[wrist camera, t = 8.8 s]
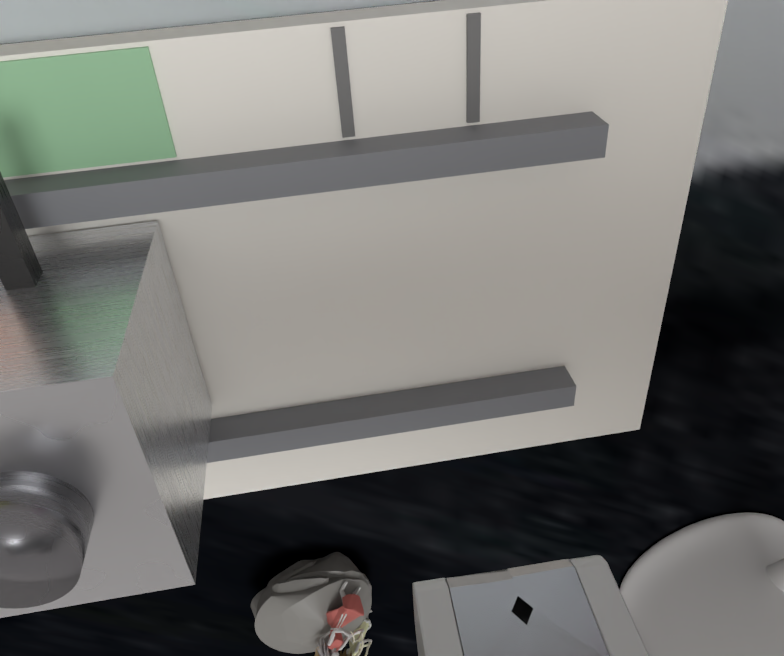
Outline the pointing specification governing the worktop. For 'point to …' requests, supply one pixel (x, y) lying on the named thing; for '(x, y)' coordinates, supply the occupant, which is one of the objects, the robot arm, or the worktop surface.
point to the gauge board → (387, 213)
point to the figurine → (315, 608)
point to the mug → (712, 589)
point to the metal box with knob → (96, 418)
